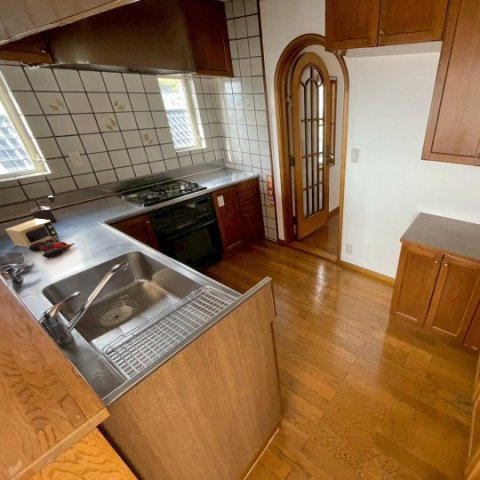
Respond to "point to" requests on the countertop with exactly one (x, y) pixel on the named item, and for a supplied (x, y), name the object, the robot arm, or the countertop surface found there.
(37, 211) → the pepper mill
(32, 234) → the mini oven
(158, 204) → the countertop surface
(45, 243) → the toy motorcycle
